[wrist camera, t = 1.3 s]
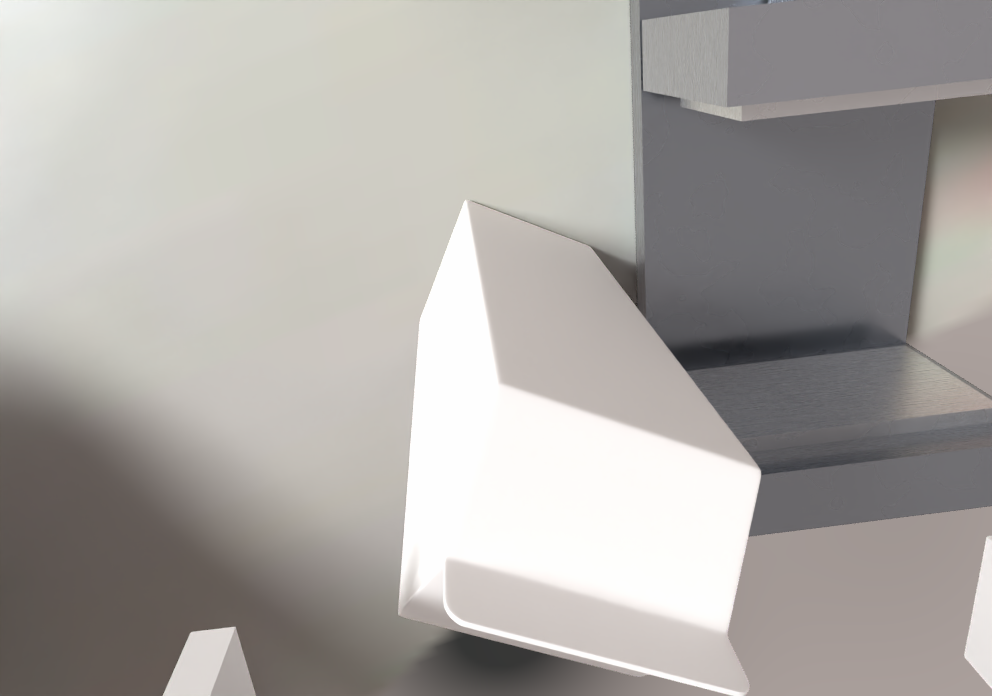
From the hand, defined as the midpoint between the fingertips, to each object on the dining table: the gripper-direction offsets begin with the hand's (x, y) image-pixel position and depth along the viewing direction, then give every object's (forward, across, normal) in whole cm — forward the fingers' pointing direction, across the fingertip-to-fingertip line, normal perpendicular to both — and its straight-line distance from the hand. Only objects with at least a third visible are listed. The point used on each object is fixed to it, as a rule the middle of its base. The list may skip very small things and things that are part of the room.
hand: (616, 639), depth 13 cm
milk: (+22, 0, 0) cm, 22 cm away
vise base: (+22, +12, +6) cm, 25 cm away
